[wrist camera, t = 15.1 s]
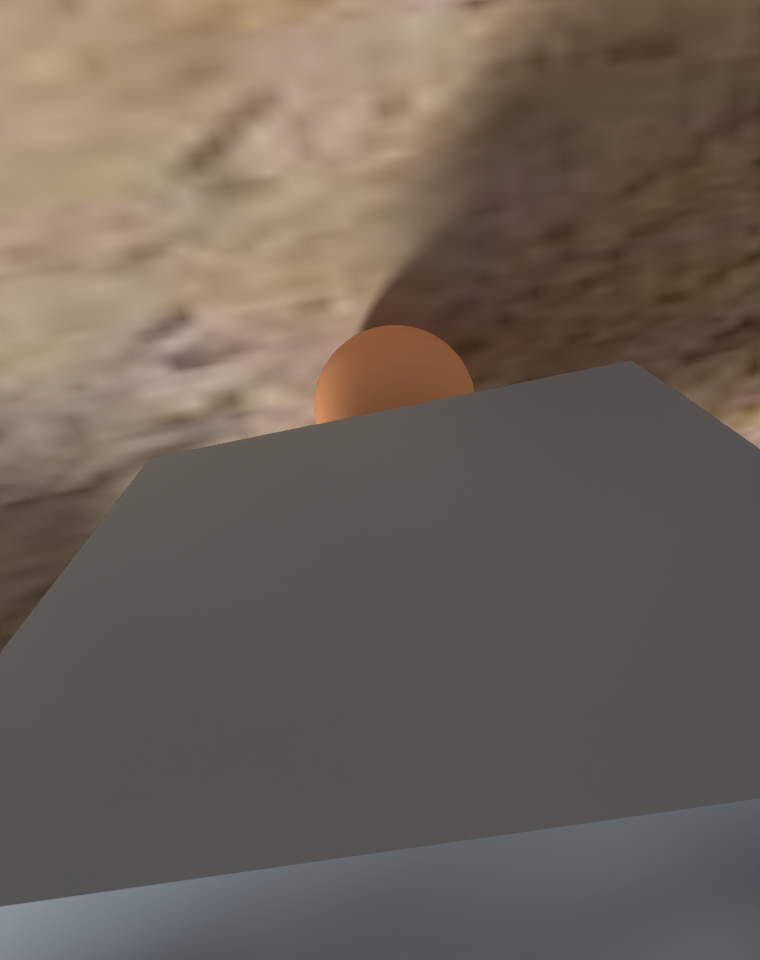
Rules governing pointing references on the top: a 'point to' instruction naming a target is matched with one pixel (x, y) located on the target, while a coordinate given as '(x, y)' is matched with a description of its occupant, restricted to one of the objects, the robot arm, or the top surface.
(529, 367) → the top surface
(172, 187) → the top surface
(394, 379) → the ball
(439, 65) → the top surface
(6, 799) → the gray tilted carton
